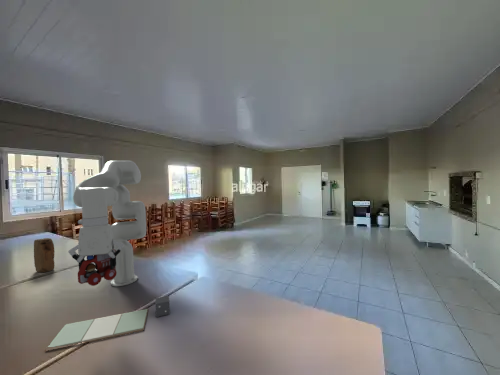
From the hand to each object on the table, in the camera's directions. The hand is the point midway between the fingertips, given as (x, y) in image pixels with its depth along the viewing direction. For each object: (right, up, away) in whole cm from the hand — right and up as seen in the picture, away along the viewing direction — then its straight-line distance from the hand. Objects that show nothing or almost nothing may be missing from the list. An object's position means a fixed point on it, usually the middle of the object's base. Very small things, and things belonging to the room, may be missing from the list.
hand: (98, 270), depth 83 cm
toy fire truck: (0, -4, 0) cm, 4 cm away
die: (+18, -17, +7) cm, 26 cm away
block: (-74, -23, +62) cm, 99 cm away
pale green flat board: (+2, -21, 0) cm, 21 cm away
